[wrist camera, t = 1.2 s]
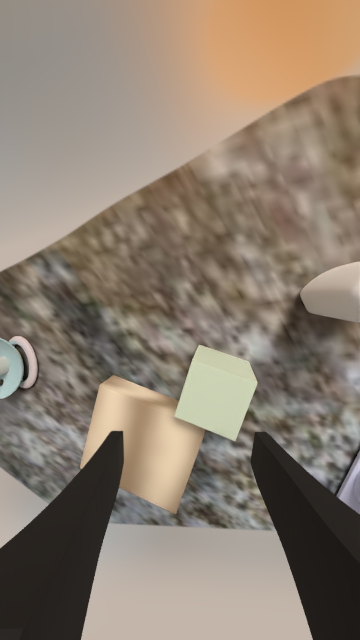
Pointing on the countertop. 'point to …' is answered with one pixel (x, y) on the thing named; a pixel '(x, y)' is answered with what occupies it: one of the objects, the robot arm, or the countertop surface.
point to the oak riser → (146, 440)
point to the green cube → (217, 392)
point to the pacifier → (16, 365)
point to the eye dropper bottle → (335, 293)
